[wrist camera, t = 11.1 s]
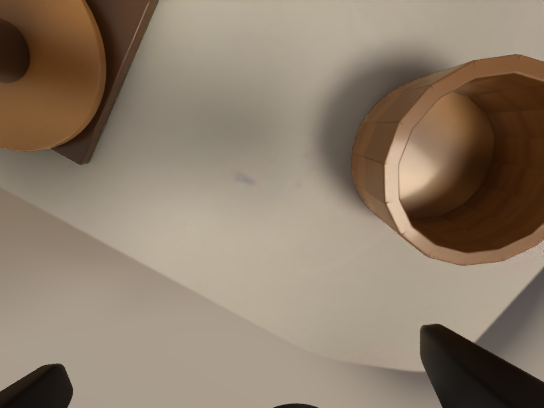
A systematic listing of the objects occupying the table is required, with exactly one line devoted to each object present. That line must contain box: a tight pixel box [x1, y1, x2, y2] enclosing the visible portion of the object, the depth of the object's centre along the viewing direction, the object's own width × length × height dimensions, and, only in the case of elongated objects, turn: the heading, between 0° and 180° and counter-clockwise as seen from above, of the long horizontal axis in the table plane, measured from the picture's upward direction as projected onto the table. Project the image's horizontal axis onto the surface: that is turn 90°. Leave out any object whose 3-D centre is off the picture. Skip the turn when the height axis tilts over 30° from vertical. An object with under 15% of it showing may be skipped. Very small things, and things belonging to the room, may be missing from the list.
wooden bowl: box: [351, 54, 544, 266], centre depth 15 cm, size 9×9×6 cm
